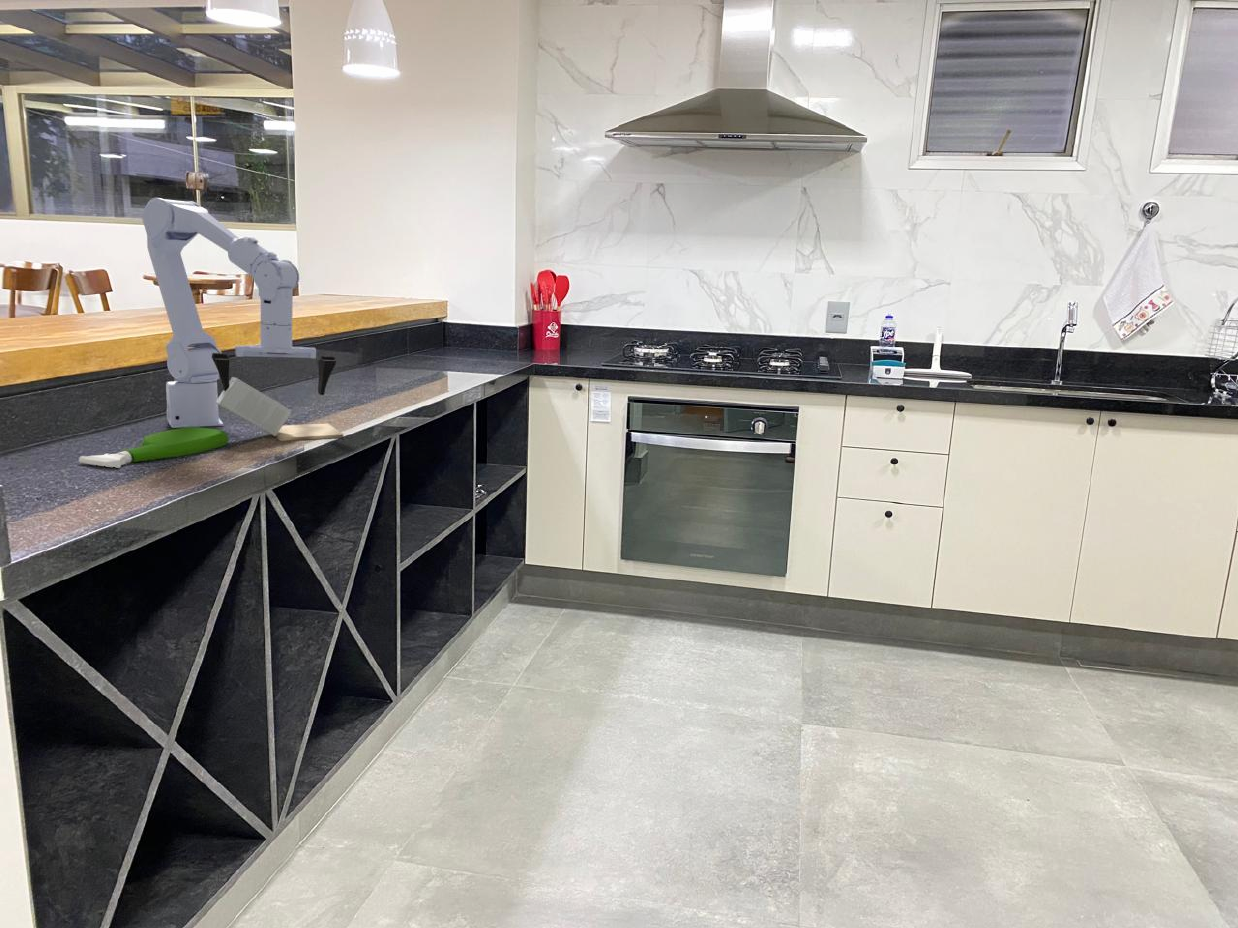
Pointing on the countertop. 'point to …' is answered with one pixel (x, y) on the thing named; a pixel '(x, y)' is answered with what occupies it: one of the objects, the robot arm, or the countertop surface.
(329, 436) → the cork mat
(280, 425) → the skincare box
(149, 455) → the spray bottle
